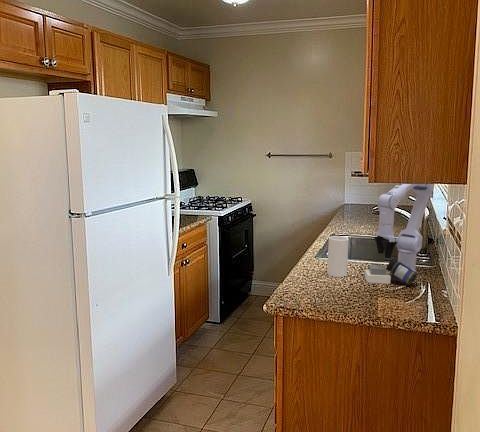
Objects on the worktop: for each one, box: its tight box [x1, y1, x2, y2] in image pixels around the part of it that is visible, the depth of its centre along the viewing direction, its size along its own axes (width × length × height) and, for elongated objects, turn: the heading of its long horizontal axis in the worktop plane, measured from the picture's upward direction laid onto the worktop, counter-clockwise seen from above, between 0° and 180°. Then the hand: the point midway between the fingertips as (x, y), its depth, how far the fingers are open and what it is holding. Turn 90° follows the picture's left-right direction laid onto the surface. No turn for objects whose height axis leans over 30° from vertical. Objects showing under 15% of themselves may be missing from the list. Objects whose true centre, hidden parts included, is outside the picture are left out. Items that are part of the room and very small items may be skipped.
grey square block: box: [368, 264, 388, 275], centre depth 195 cm, size 6×6×2 cm
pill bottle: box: [385, 259, 419, 286], centre depth 190 cm, size 6×6×11 cm
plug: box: [390, 273, 401, 282], centre depth 197 cm, size 4×4×6 cm
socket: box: [364, 269, 392, 285], centre depth 195 cm, size 9×9×3 cm
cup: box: [326, 235, 350, 278], centre depth 201 cm, size 8×8×16 cm
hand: (384, 255), depth 198 cm, fingers open, 7 cm apart
